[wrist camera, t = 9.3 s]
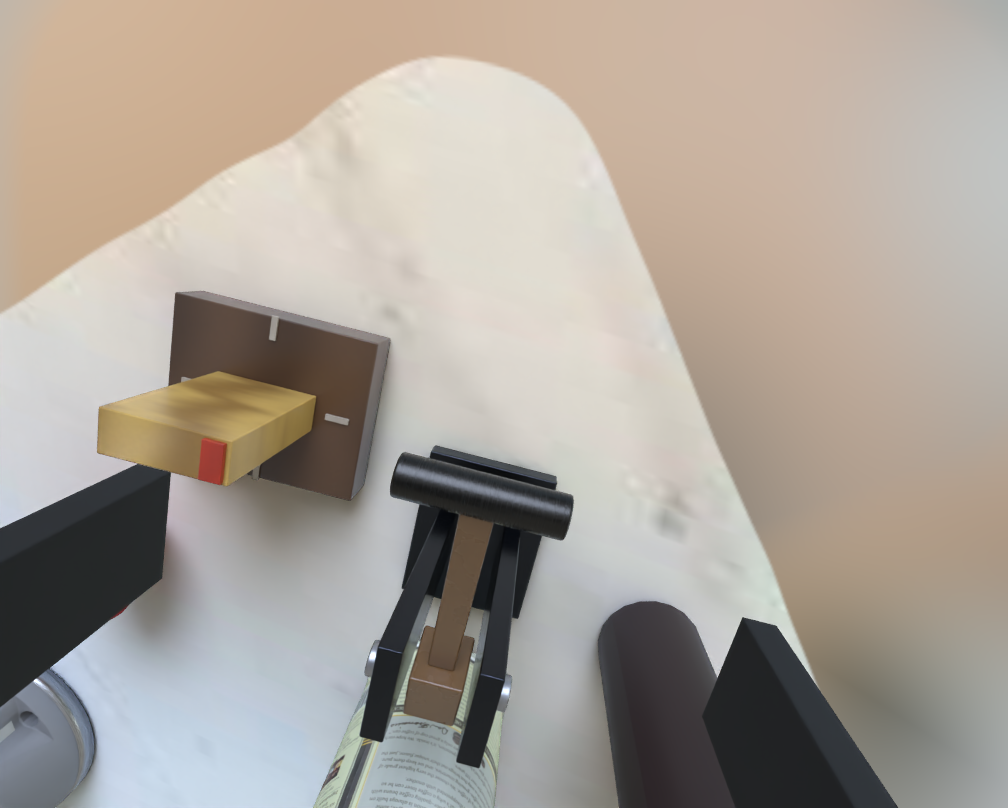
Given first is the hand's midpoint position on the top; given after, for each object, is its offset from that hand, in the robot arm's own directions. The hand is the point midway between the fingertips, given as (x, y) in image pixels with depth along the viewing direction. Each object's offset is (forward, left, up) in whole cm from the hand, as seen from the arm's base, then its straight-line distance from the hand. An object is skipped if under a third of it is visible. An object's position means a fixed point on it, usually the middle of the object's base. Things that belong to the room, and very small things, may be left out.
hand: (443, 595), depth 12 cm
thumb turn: (-14, -4, -19) cm, 23 cm away
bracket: (0, -10, -21) cm, 23 cm away
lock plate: (-14, -4, -21) cm, 26 cm away
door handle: (0, -5, -8) cm, 9 cm away
